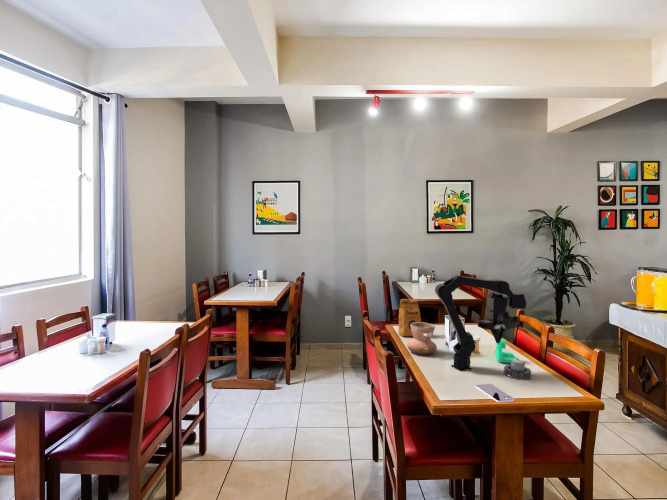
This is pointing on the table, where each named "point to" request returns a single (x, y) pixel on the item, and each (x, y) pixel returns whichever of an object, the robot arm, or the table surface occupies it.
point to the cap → (518, 365)
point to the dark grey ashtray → (517, 373)
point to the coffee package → (408, 315)
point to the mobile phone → (494, 393)
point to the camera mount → (503, 353)
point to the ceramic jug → (422, 338)
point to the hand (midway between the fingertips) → (497, 343)
